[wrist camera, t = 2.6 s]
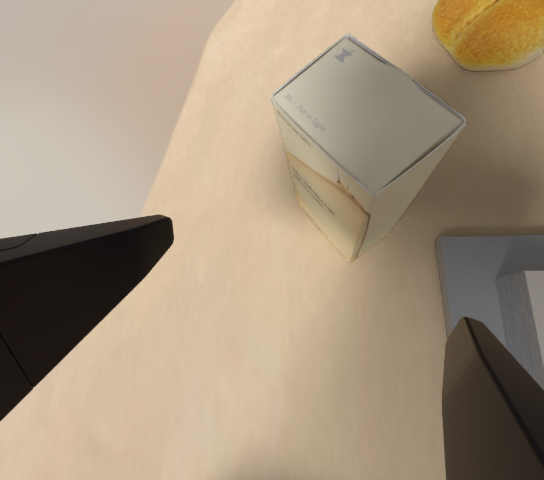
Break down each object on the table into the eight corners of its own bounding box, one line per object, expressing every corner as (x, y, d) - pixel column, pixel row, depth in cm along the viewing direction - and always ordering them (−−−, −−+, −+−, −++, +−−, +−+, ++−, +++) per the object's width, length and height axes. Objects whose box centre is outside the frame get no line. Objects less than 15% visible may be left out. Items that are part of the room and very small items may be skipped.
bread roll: (476, 95, 23) (504, 50, 19) (412, 25, 26) (425, -25, 22) (578, 43, 22) (628, -14, 18) (501, -22, 25) (530, -83, 21)
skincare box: (298, 207, 23) (260, 94, 12) (340, 172, 23) (345, 26, 12) (351, 267, 21) (370, 201, 10) (399, 228, 21) (474, 117, 10)
